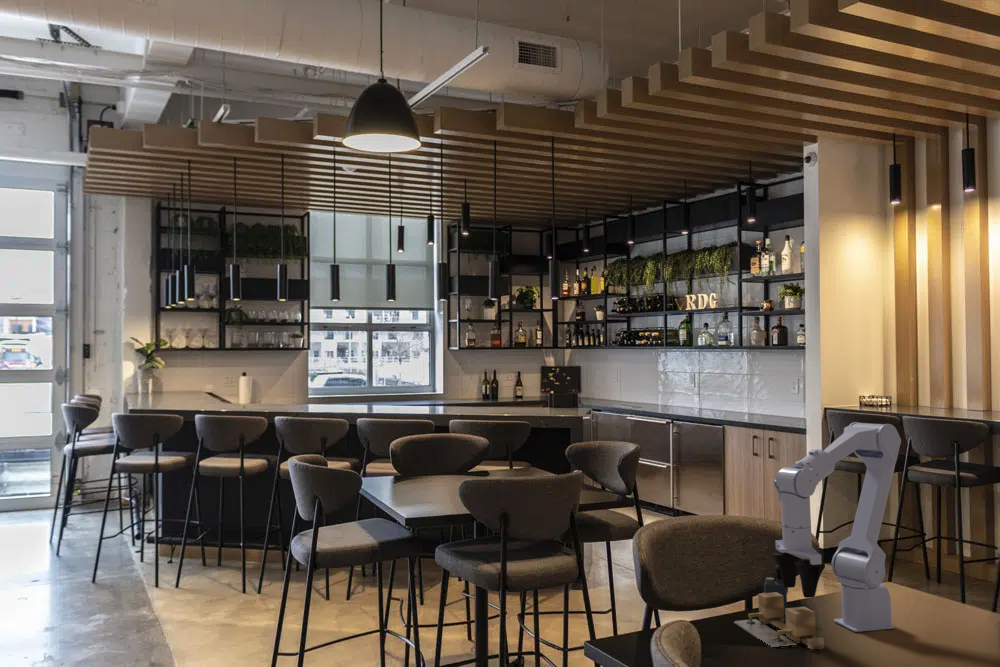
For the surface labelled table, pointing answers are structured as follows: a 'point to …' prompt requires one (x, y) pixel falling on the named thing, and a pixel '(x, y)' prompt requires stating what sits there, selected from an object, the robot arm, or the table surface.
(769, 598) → the fixed leg
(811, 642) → the rail
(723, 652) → the table surface
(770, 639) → the bolt plate
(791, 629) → the brown block with peg
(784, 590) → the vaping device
